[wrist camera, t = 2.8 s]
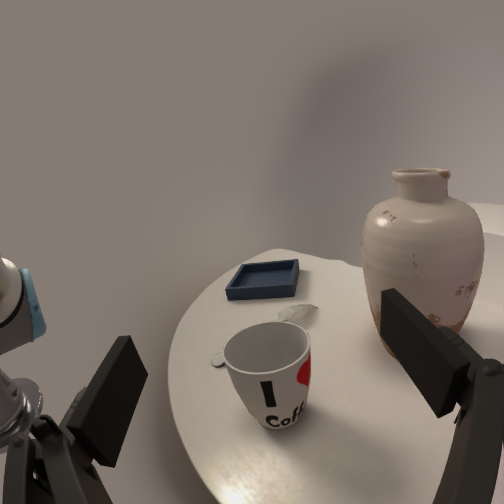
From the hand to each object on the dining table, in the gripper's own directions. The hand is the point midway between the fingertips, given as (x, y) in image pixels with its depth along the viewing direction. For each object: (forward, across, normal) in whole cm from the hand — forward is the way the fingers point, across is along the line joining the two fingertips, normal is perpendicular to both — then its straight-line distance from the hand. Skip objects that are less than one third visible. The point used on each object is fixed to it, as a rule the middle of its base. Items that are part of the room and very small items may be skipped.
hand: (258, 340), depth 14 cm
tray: (+46, +1, -17) cm, 49 cm away
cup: (+10, 0, -18) cm, 20 cm away
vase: (+16, +20, -18) cm, 31 cm away
